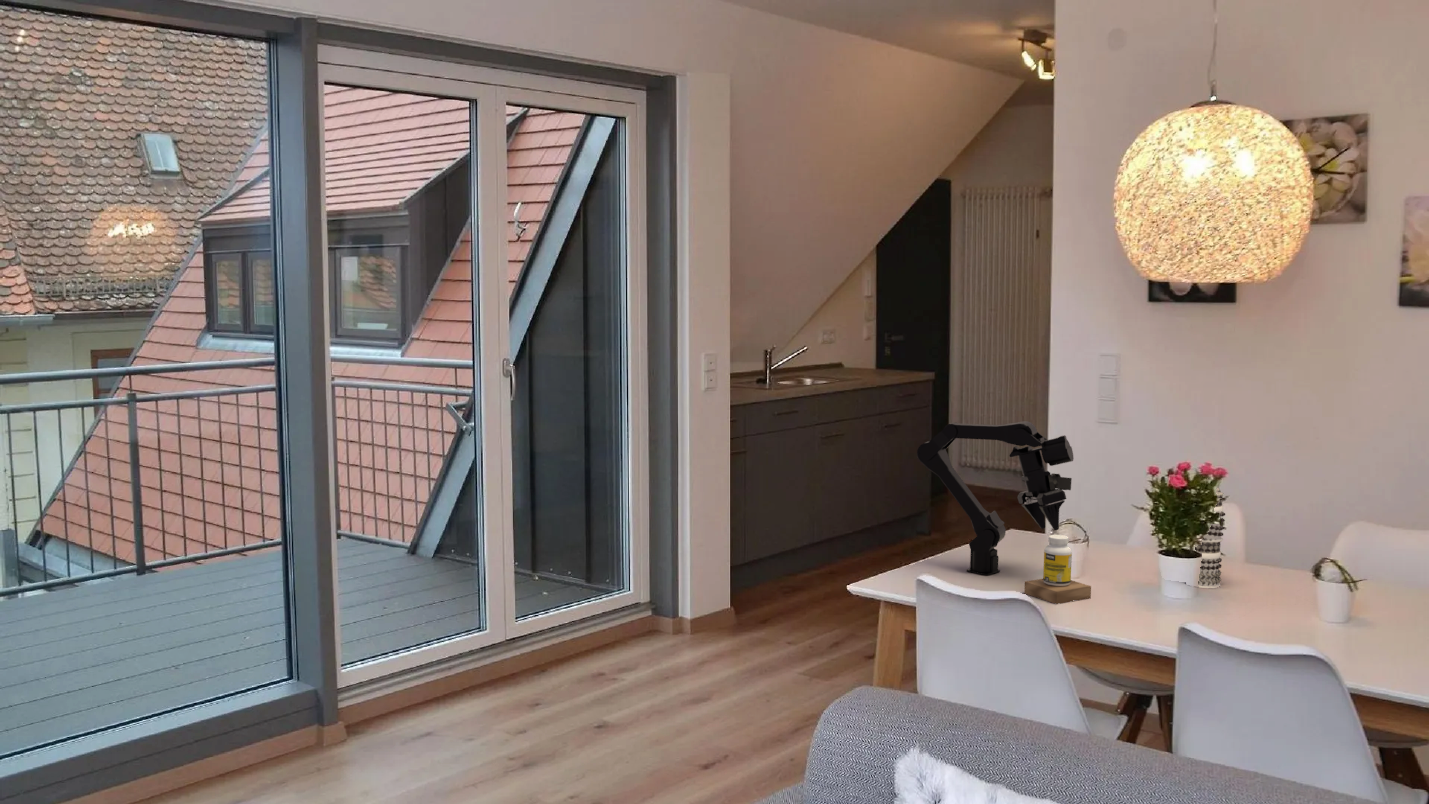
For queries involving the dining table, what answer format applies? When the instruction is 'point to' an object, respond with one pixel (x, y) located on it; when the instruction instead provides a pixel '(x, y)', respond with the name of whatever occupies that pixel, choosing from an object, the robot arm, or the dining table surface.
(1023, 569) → the dining table surface
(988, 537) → the robot arm
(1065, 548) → the pill bottle
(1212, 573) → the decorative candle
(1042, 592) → the walnut plinth
